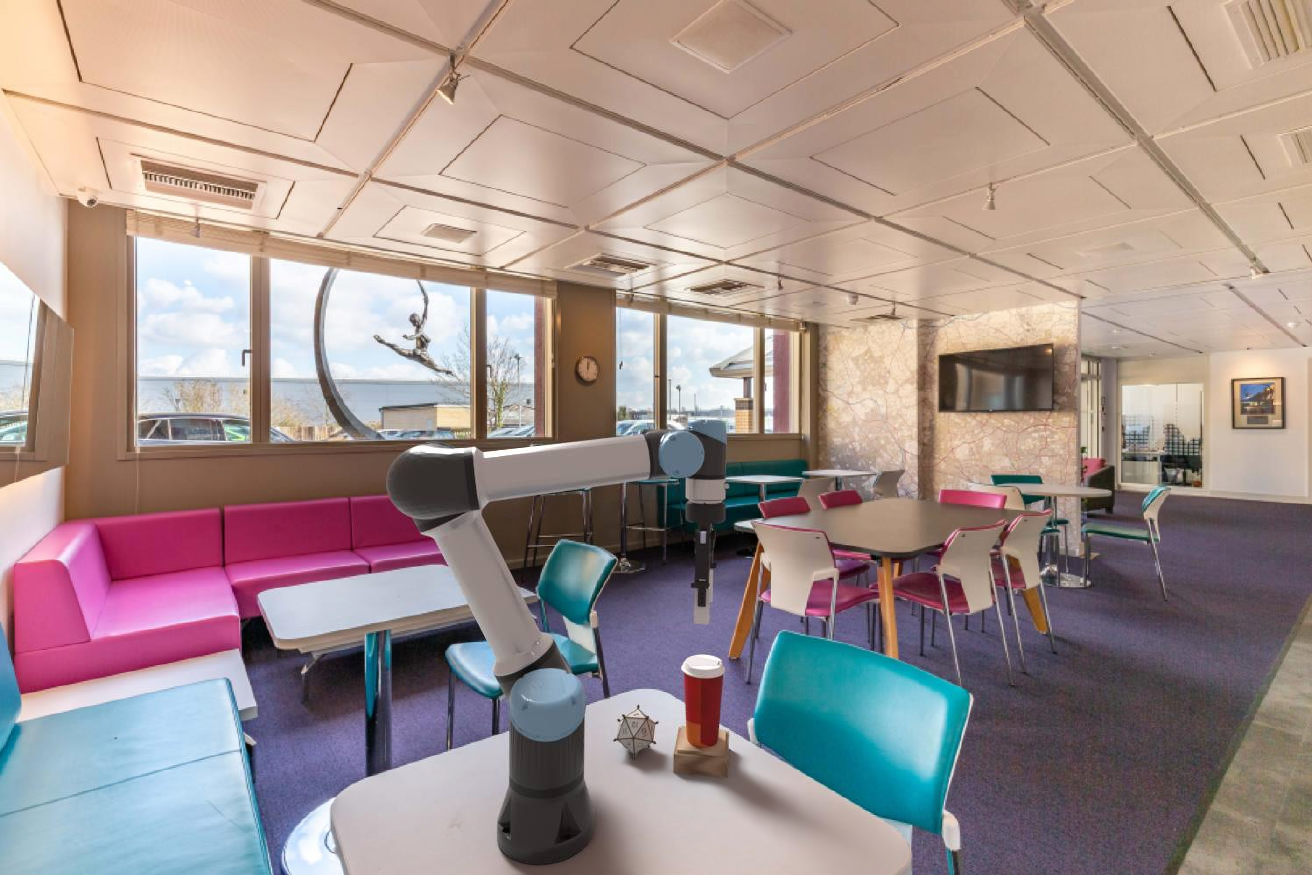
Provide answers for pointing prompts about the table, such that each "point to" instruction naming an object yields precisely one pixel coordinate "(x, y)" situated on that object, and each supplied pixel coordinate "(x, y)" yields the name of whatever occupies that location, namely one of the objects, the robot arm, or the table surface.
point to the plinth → (701, 756)
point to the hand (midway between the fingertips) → (703, 611)
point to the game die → (636, 731)
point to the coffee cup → (703, 698)
